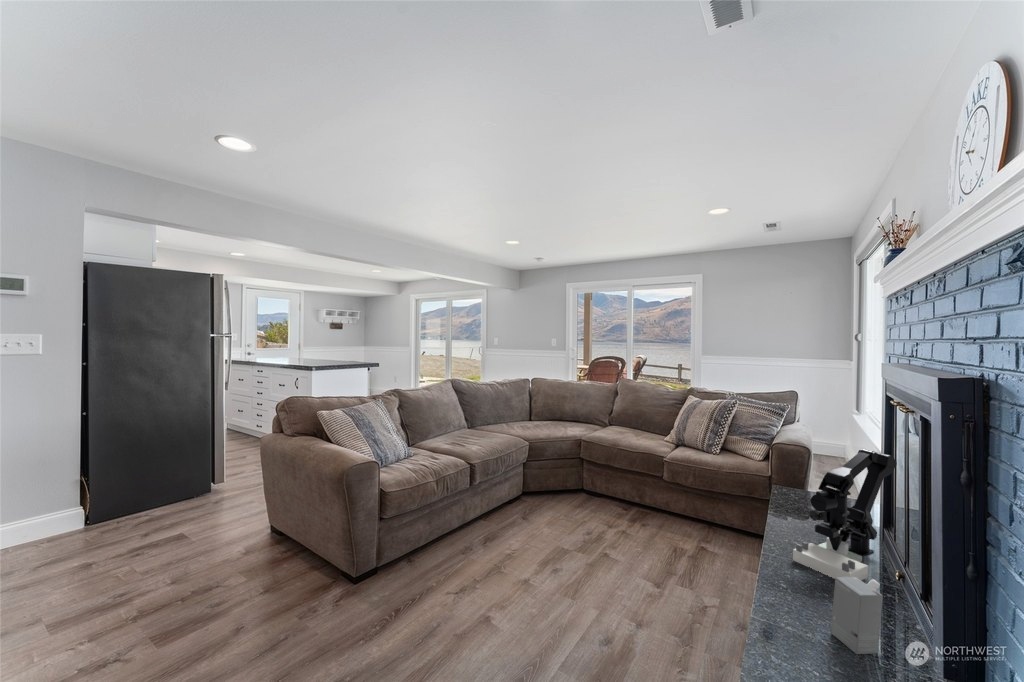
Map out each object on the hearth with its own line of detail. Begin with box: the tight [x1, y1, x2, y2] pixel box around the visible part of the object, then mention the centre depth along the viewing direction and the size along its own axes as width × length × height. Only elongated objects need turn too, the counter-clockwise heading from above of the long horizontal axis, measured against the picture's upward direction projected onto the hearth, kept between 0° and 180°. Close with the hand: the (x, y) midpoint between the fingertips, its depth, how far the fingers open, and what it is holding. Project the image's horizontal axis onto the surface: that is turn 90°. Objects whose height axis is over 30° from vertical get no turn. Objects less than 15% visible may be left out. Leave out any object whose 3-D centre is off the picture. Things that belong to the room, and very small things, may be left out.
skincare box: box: [830, 577, 884, 655], centre depth 114 cm, size 8×7×16 cm
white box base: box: [792, 541, 869, 581], centre depth 151 cm, size 11×18×6 cm, turn 27°
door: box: [817, 537, 863, 563], centre depth 159 cm, size 9×16×6 cm, turn 27°
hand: (837, 549), depth 160 cm, fingers closed on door, 2 cm apart
